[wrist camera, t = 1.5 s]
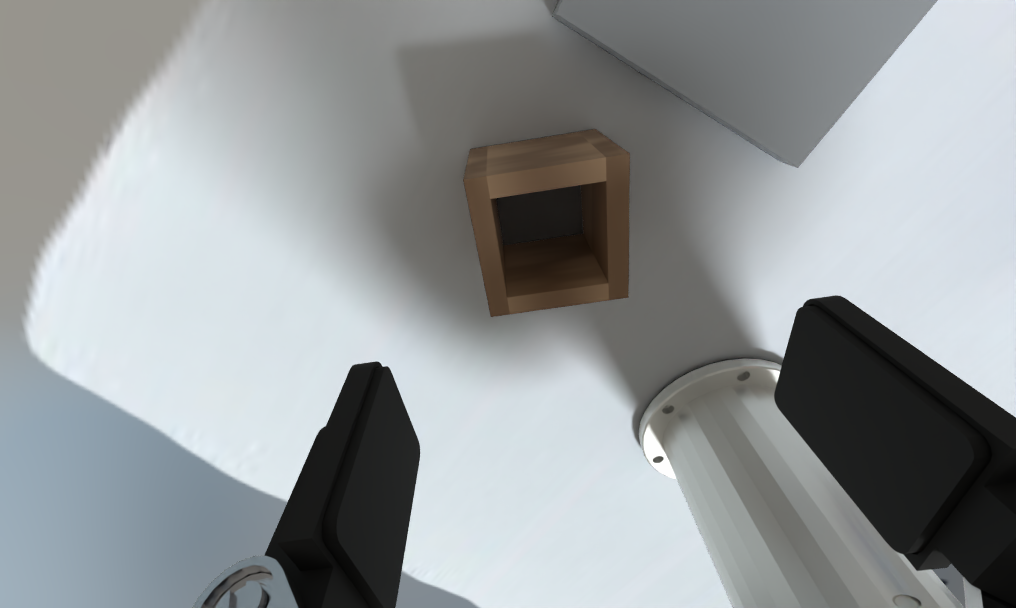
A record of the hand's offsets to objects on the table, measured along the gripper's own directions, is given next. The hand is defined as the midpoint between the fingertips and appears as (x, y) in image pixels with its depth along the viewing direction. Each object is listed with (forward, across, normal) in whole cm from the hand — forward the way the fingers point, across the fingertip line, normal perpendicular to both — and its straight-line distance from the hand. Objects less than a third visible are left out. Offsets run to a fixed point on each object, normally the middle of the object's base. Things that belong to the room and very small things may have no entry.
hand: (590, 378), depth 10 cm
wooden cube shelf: (+15, 0, 0) cm, 15 cm away
